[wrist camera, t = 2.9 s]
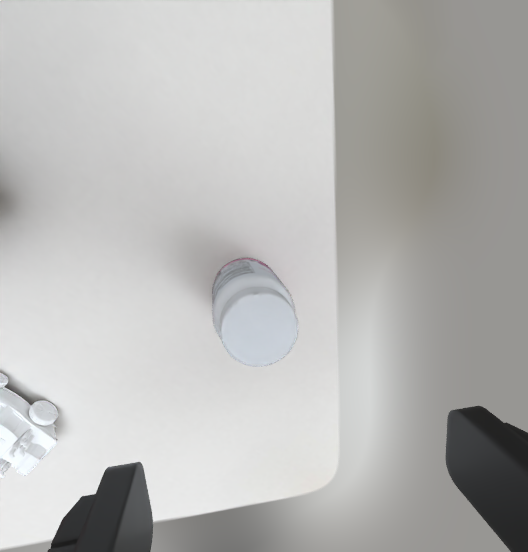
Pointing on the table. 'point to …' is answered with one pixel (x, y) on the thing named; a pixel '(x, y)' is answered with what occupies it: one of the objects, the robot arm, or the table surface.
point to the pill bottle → (253, 313)
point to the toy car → (24, 430)
